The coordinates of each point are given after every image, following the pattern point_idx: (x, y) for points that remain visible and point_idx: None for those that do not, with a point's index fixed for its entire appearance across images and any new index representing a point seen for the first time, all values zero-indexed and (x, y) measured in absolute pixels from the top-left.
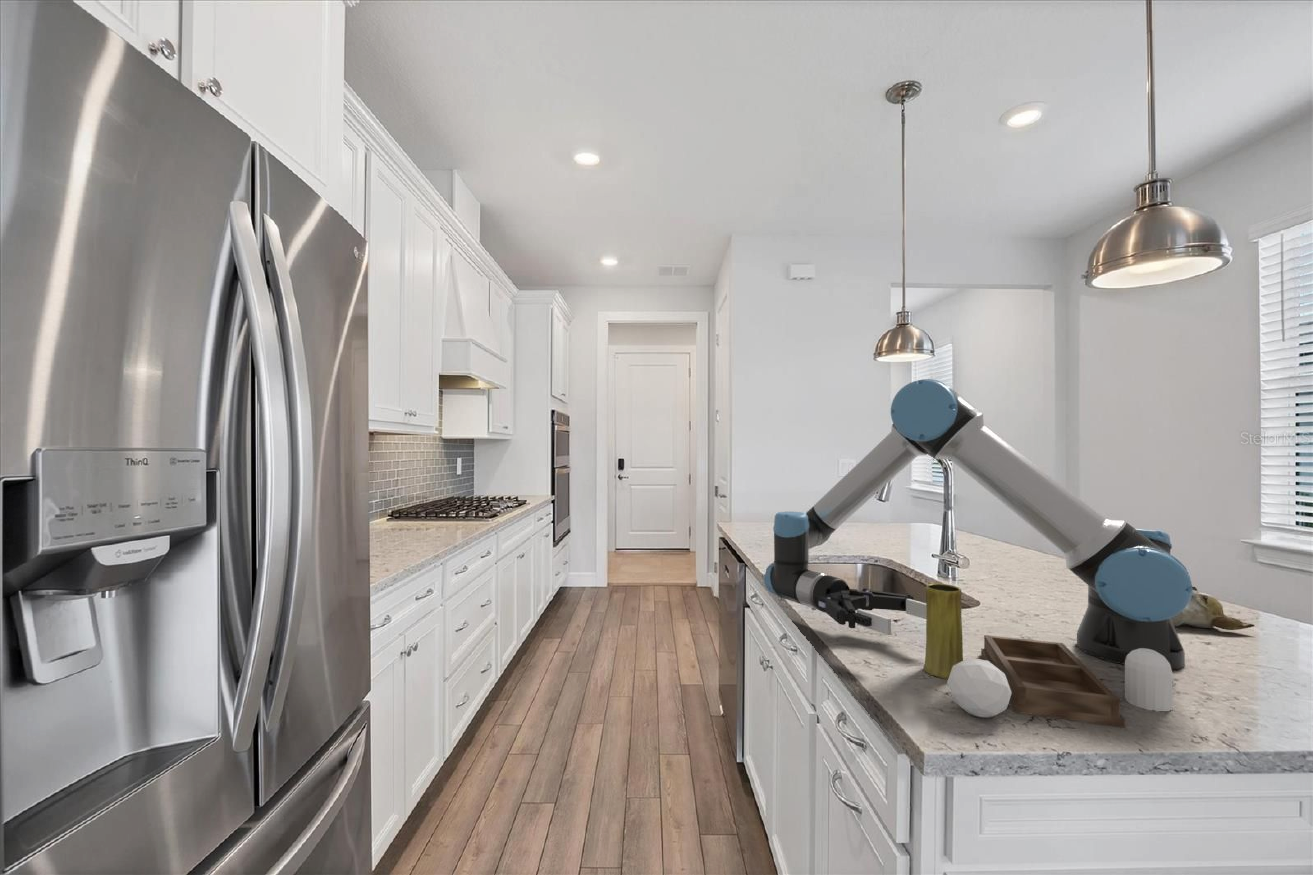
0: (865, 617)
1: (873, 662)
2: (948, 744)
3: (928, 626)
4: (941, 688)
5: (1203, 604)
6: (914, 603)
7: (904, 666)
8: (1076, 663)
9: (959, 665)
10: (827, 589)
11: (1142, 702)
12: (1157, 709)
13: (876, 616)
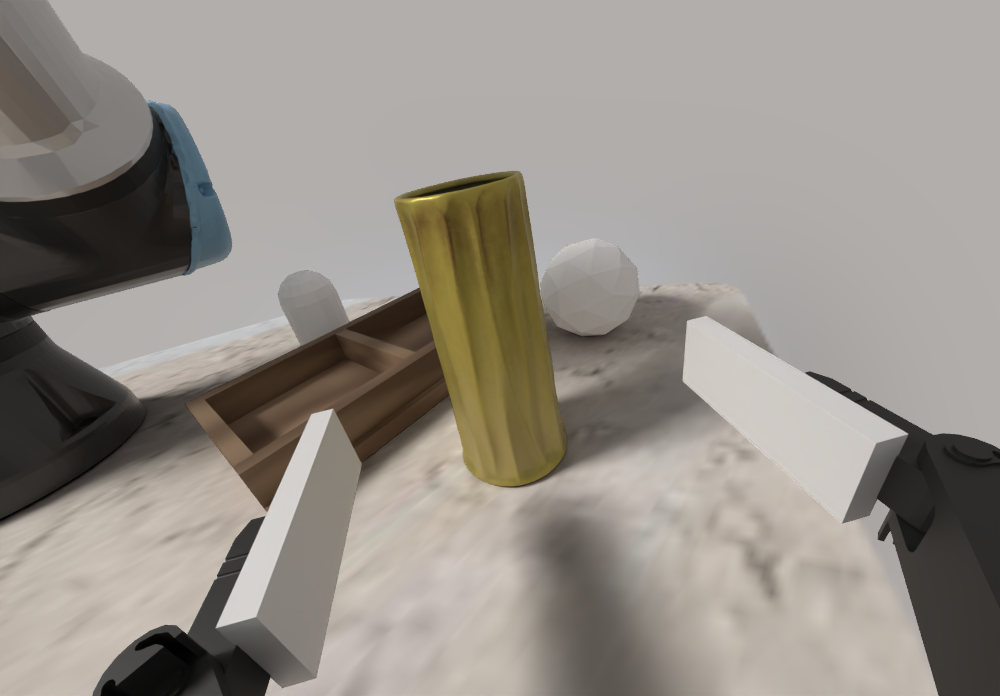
0: (825, 383)
1: (727, 557)
2: (695, 288)
3: (542, 328)
4: (591, 386)
5: None
6: (295, 540)
7: (607, 498)
8: (324, 339)
9: (619, 252)
10: None
11: None
12: None
13: (755, 348)
